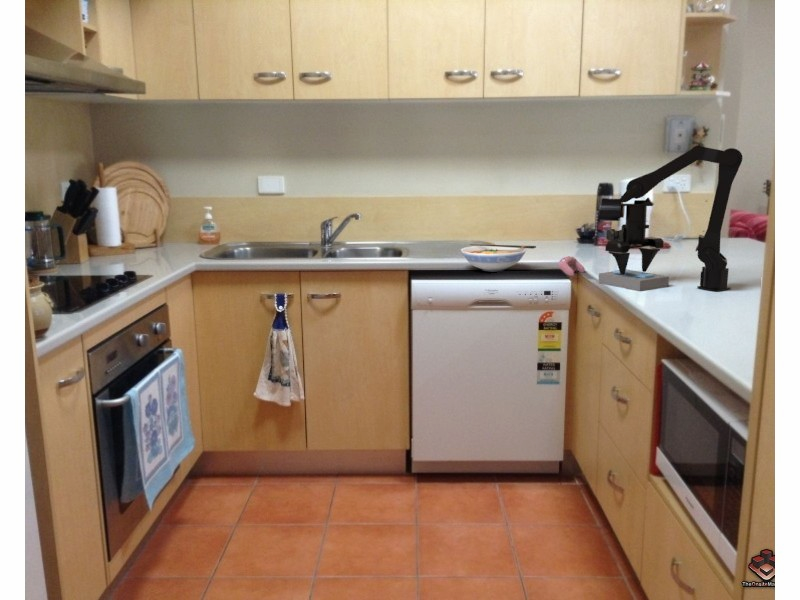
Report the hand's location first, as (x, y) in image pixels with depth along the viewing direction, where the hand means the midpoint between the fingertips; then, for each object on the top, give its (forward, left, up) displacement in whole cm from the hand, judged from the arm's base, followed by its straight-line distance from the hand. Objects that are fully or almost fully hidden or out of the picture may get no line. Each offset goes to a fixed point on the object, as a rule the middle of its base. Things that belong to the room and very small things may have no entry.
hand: (633, 273), depth 200 cm
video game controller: (+25, +1, -4) cm, 26 cm away
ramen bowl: (+47, +17, -4) cm, 50 cm away
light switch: (0, 0, -4) cm, 4 cm away
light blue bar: (0, 0, -4) cm, 4 cm away
